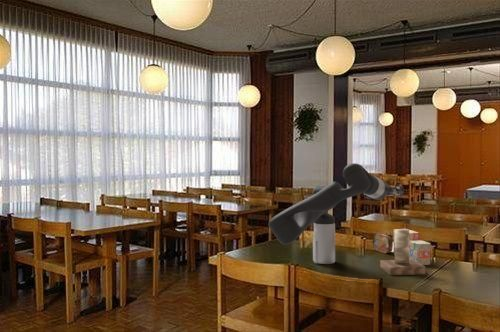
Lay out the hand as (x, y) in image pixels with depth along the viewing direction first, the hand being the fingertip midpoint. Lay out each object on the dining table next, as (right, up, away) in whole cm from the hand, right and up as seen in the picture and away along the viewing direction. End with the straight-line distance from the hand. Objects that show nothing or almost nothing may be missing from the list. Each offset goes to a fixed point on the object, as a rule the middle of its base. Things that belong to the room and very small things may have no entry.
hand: (390, 195), depth 185 cm
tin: (+9, -30, +42) cm, 52 cm away
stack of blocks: (+17, -30, +25) cm, 43 cm away
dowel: (+7, -30, +6) cm, 32 cm away
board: (+7, -31, +6) cm, 32 cm away
